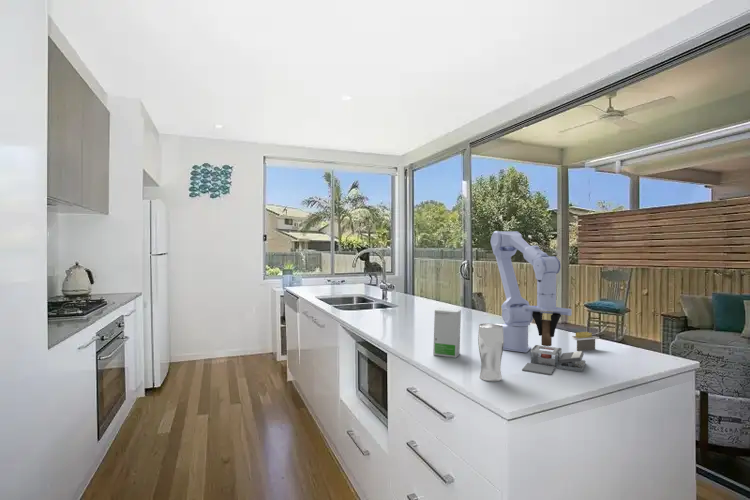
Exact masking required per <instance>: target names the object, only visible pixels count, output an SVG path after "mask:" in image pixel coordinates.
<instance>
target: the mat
mask: <svg viewBox="0 0 750 500" xmlns="http://www.w3.org/2000/svg"><path fill="white" fill-rule="evenodd" d="M555 369H556V366H550V365H543V364H536V363H531V362H527V363H526V364H525V366H524V367H523V368H522V369H521V370H522V372H523V371H524V372H528V373H529V372H530V373H535V374H542V375H549V376H552V374H553V373H554V371H555Z"/></svg>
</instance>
